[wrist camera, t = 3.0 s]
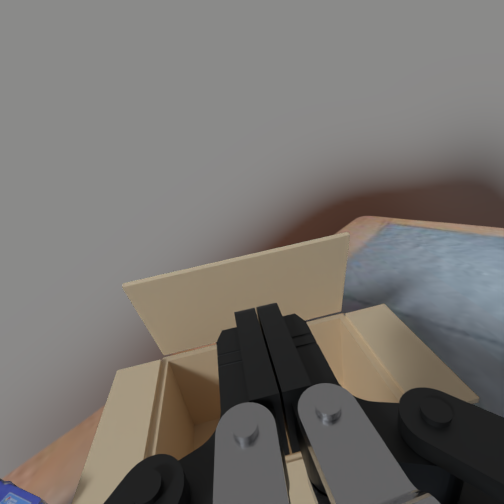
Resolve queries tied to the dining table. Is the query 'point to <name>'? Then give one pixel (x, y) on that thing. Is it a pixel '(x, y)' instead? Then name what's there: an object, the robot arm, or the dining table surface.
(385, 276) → the dining table surface
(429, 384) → the carton
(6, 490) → the ink cartridge box
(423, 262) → the dining table surface
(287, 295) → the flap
